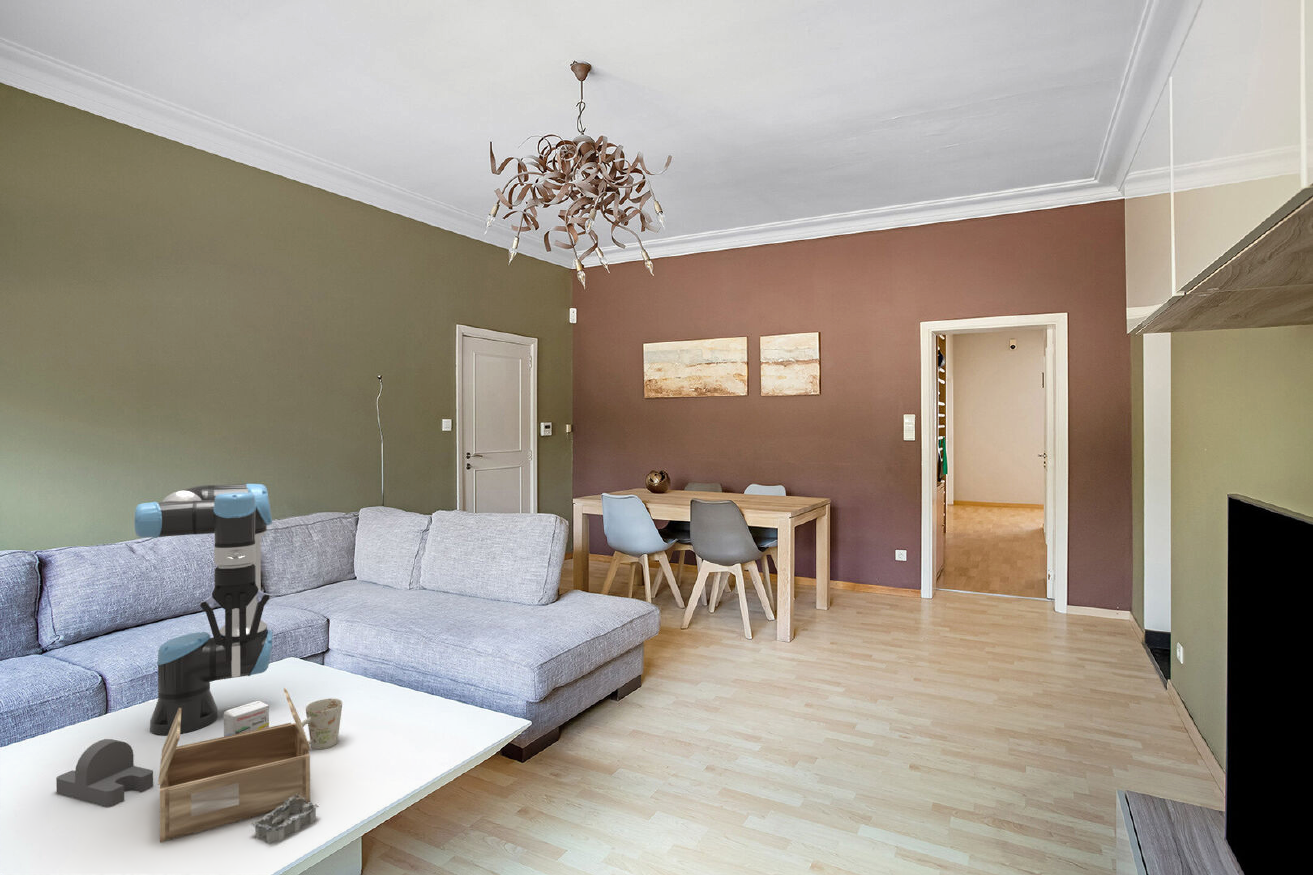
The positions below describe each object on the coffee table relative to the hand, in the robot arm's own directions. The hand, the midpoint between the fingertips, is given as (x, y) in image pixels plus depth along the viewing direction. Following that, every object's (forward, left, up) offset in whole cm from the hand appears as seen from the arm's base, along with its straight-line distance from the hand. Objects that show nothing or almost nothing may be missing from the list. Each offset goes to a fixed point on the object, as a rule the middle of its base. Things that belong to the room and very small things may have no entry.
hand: (235, 674), depth 147 cm
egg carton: (+17, +8, -27) cm, 33 cm away
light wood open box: (0, 0, -27) cm, 27 cm away
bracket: (-21, -24, -27) cm, 42 cm away
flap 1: (0, -11, -12) cm, 17 cm away
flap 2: (0, +11, -12) cm, 17 cm away
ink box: (-22, +3, -27) cm, 35 cm away
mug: (-17, +18, -27) cm, 37 cm away
